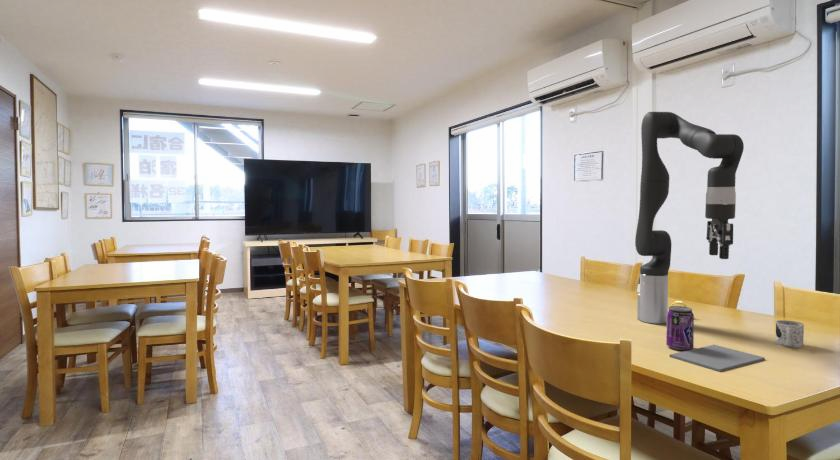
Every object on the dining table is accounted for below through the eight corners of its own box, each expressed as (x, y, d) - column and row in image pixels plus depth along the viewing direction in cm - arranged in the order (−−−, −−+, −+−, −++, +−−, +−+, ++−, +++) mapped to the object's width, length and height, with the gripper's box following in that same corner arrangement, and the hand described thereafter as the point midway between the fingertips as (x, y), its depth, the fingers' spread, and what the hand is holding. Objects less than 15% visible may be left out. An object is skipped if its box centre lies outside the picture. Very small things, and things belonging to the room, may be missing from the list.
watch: (687, 317, 182) (689, 302, 181) (686, 319, 180) (688, 303, 179) (670, 314, 185) (671, 299, 185) (668, 316, 183) (670, 300, 183)
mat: (669, 356, 135) (669, 354, 135) (714, 346, 144) (714, 344, 144) (719, 371, 123) (719, 369, 123) (764, 359, 132) (764, 357, 132)
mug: (776, 340, 150) (776, 319, 150) (803, 343, 146) (804, 322, 145) (774, 347, 142) (774, 325, 142) (802, 352, 138) (803, 329, 138)
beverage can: (679, 352, 139) (679, 311, 138) (660, 345, 146) (661, 306, 145) (699, 350, 141) (699, 309, 140) (680, 343, 148) (680, 304, 147)
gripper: (698, 202, 150) (696, 253, 151) (714, 203, 136) (712, 260, 137) (725, 202, 148) (723, 254, 149) (744, 203, 134) (742, 260, 136)
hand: (718, 257), depth 143 cm, fingers open, 8 cm apart
